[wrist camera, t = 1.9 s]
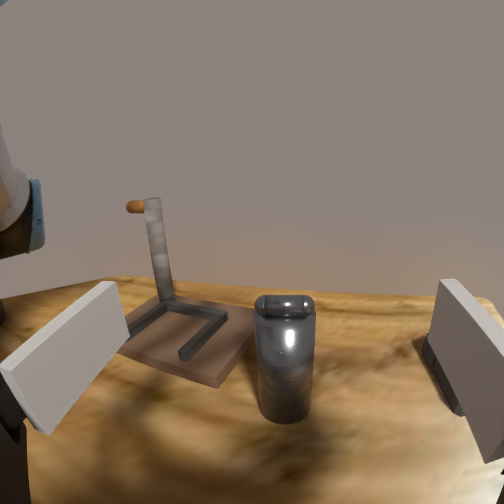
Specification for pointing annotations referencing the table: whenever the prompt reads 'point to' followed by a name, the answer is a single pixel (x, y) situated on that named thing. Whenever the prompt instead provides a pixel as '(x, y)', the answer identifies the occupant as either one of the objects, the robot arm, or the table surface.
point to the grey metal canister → (284, 355)
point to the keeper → (183, 320)
